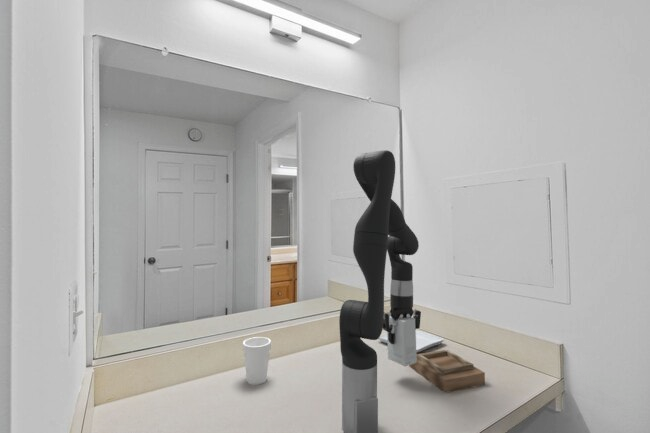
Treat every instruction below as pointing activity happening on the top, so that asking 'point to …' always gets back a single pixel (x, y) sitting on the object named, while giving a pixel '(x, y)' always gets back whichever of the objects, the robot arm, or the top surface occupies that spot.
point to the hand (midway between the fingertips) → (401, 342)
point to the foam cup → (256, 358)
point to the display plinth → (448, 371)
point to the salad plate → (419, 340)
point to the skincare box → (403, 342)
